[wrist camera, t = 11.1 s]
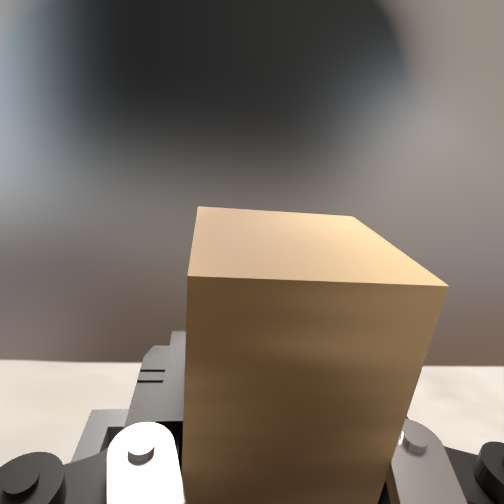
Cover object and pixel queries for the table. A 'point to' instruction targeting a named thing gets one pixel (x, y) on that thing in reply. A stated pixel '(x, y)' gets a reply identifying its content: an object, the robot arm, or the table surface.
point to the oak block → (298, 357)
